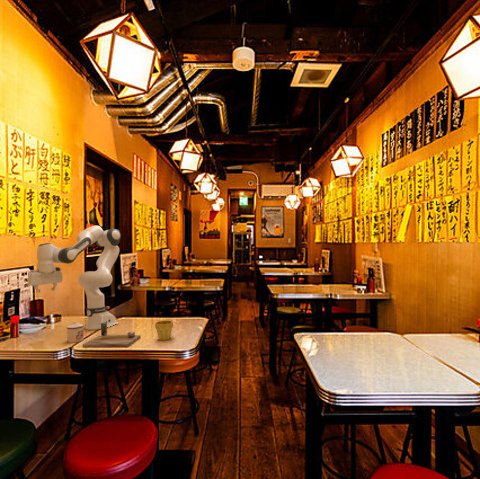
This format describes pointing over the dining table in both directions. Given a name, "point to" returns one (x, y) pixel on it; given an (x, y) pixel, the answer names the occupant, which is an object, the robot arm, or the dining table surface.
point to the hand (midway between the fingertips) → (45, 291)
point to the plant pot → (164, 329)
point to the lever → (105, 335)
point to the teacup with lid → (75, 332)
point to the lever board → (111, 342)
